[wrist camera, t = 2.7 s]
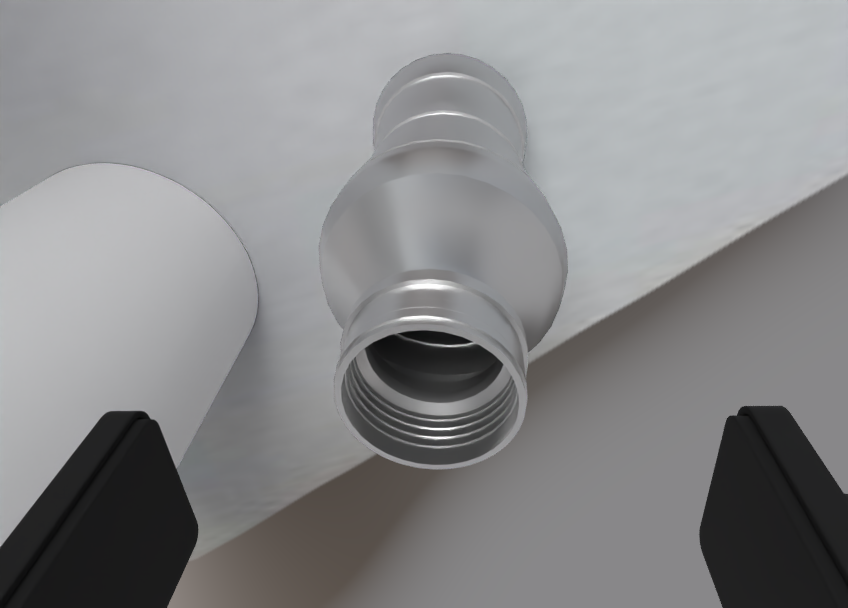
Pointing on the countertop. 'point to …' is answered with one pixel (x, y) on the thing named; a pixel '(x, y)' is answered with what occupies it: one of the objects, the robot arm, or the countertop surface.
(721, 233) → the countertop surface
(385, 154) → the silver bottle
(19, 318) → the canister
